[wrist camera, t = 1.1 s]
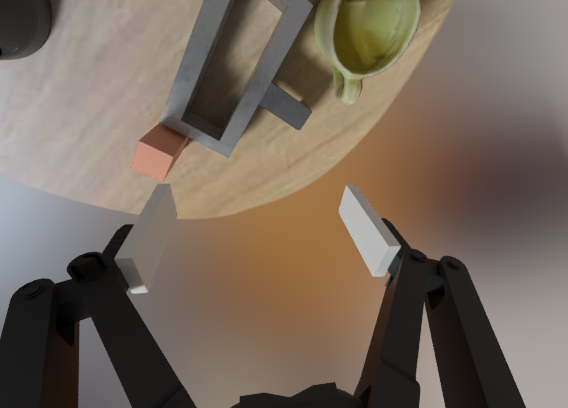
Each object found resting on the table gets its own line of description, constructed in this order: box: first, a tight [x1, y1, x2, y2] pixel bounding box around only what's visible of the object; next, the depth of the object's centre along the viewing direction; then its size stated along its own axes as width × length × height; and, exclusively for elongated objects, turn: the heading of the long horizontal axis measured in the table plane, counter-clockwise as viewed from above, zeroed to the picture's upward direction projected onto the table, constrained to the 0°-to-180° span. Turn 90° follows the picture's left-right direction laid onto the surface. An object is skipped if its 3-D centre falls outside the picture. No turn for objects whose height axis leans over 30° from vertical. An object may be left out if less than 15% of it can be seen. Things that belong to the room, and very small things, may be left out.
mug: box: [314, 0, 421, 105], centre depth 25 cm, size 12×10×10 cm
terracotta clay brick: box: [130, 123, 189, 181], centre depth 29 cm, size 4×4×10 cm
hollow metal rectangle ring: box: [160, 0, 313, 158], centre depth 28 cm, size 16×19×5 cm
